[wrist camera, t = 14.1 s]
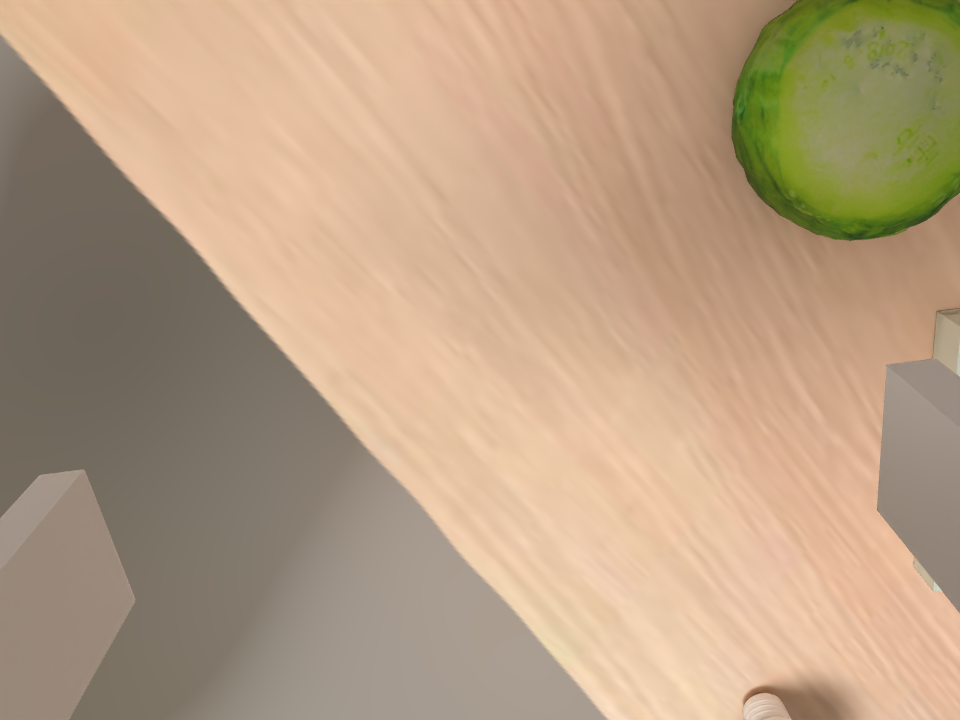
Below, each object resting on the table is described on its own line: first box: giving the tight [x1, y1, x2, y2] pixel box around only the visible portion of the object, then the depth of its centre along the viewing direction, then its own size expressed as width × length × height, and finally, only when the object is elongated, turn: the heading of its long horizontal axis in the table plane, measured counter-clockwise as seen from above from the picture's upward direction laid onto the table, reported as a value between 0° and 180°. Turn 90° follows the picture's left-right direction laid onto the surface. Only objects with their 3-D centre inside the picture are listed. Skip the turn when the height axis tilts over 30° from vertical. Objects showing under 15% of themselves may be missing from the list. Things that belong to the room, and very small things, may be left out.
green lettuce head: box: [732, 0, 960, 241], centre depth 35 cm, size 12×11×5 cm
